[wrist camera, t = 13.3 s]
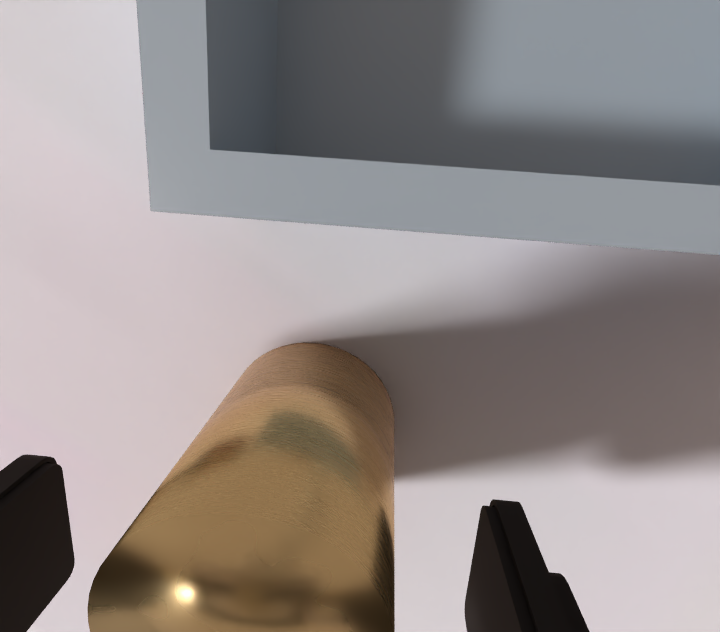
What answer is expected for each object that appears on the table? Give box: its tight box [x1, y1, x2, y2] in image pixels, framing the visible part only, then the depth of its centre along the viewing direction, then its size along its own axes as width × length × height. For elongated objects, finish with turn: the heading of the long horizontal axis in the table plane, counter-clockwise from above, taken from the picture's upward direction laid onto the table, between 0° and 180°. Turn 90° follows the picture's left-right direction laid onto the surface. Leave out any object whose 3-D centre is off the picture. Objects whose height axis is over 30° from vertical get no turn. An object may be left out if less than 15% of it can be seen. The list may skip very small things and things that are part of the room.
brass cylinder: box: [88, 343, 394, 632], centre depth 11 cm, size 5×5×7 cm
